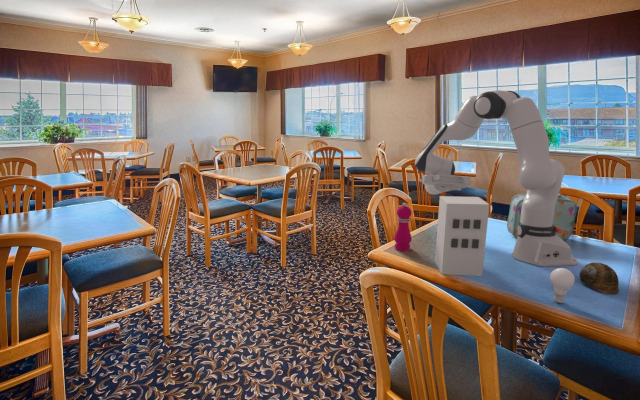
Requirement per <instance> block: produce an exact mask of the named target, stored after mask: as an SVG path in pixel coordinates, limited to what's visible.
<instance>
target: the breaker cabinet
mask: <svg viewBox="0 0 640 400" xmlns="http://www.w3.org/2000/svg"><path fill="white" fill-rule="evenodd" d="M438 203H439V205H438V216H437V218H438V219H437V231H436V232H437V238H436V244H435V245H436V246H435V259H434V263H435V264H436V266H437V269H438V270H439V272H440V274H441V275H445V274H449V275H450V276H472V277H474V276H476V277H482V276H483V272H484V271H483V270H484V264H485V263H484V262H485V261H484V260H485V253H486V250H485V249H486V243H487V242H486V241H487V232H488V231H487V230H488V224H489V223H488V221H489V214H490V213H489V212H490V204H489V203H488V202H487V201H485V200H484V199H482V198H481V197H479V196H452V195H451V196H449V195H448V196H447V195H445V196H444V195H442V196H441V195H439V202H438Z"/></svg>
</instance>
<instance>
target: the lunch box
mask: <svg viewBox="0 0 640 400" xmlns="http://www.w3.org/2000/svg"><path fill="white" fill-rule="evenodd" d="M525 196H526V193H518V194H515V195H514V196H513V197H512V198H511V200H510V205H509V210H508V211H509V212H508V216H507V217H508V218H507V223H506V228H507V231H508V233H510V234H511V235H512V236H513V237H514V238H515V239H517V237H518V235H517V234H518V232H517V231H518V225H519V221H520V219H521V210H522V203H523V200H524V198H525ZM576 213H577V203H576V202H575V201H574V200H572V199H570V198H569V197H567V196H565V195H564V194H561V193H559V195H558V198H557V201H556V205H555V210H554V217H553V224H552V225H554V226H556V227H559V228H561V229H562V232H561V233H560V234H559V233H557V232H556V235H557V236H558V237H560V238H561V239H562V240H563V241H564V242H565V241H567V240H568V239H570V237H571V236H572V234H573V232H574V231H573V230H574V224H575V220H576Z"/></svg>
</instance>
